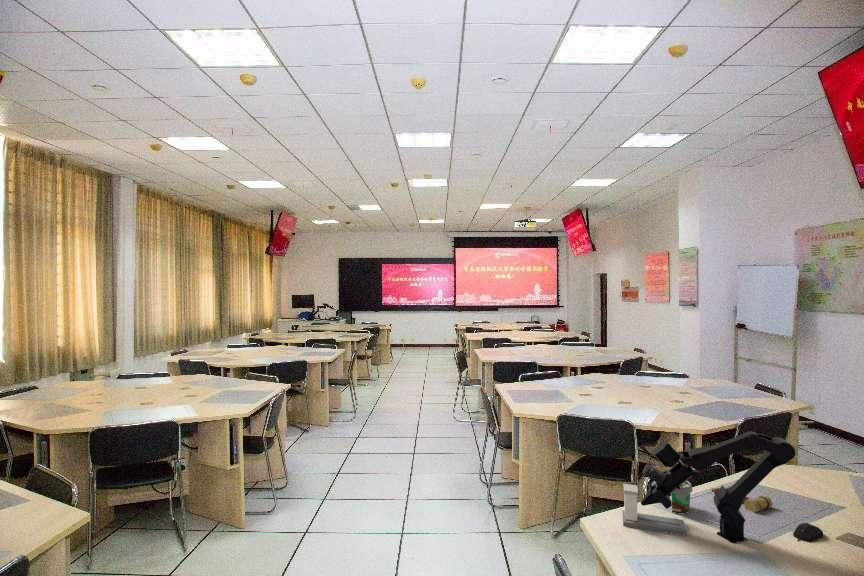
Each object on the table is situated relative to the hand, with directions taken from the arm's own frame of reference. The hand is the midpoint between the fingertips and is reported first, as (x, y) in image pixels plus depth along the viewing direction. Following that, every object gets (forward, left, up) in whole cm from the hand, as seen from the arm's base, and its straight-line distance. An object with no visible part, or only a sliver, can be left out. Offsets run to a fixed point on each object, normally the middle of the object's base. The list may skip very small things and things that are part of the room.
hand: (641, 504), depth 168 cm
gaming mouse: (-22, -47, -7) cm, 53 cm away
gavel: (+6, -50, -7) cm, 51 cm away
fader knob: (+2, +3, -5) cm, 6 cm away
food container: (+5, -23, -7) cm, 24 cm away
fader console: (-2, -3, -7) cm, 8 cm away
